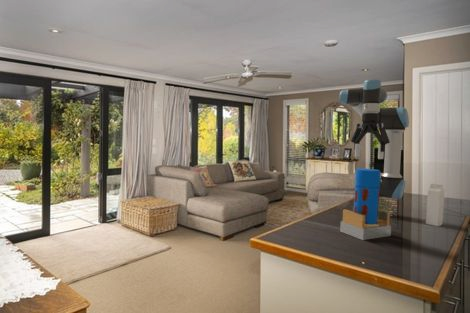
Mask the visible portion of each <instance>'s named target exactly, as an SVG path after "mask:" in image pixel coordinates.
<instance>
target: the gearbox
mask: <svg viewBox="0 0 470 313" xmlns="http://www.w3.org/2000/svg"><path fill="white" fill-rule="evenodd" d="M390 213H391V212H390V211H387V210H381V209H379V211H378V222H377V224H372V225H371V224H365V215H363V214H360V213H357V212H354V211H353V210H349V209H346V208H345V209H343V210H342V220H340V226H339V227H340V229H339V230H340V231H339V232H341V233H344V234H347V235H349V236H352V237H354V238H356V239H358V240H359V239H360V240H362V241H366V240H372V239H378V238H379V239H380V238H385V237H391V236H392V235H391V234H392V225H391V224H390V218H391V217H390V216H391V214H390Z"/></svg>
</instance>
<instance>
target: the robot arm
mask: <svg viewBox="0 0 470 313" xmlns="http://www.w3.org/2000/svg"><path fill="white" fill-rule="evenodd" d="M338 98H339V103H340V104H341V105H348V106H350V107H351V108H352V109H353V110H354V111H355V113H356V114H358V115H359V118H360V120H361V122H362V123H357V124H356V129H355V131H354V133H353V135H352V138H351V141H350V142H351V143H353V144H354V145H353V146H354V147H353V149H354V157H355V158H360V157H361V143H360V142H362V140H363V138H364V137H365V136H366V134H369V133H370V134H373V135H374V137H375V139H376V140H377V141H378V143H379V144H378V149H377V150H378V151H377V159H378V160H384V162H383V163H384V164H383V173H382V174H380V192H379V198H386V199H392V200H400V199H401V198H402V197H403V195H404V192H405V187H406V180H404V179H403V176H402V174H401V158H402V156H401V155H402V138H403V133H404V132H406V129H407V128H409V125H410V124H409V123H410V118H409V112H408V110H407V108H406V107H398V106H396V107H381V104H382V103H384V102H386V100H387V99H388V93H387V90H386V89H384V88H383V87H382V81H381V80H380V79H374V78H373V79H366V80H365V81H363V87H362V88H349V89H348V88H347V89H342V90H340V92H339V96H338ZM352 211H353V212H354V205H353V206H352Z"/></svg>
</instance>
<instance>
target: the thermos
mask: <svg viewBox="0 0 470 313" xmlns="http://www.w3.org/2000/svg"><path fill="white" fill-rule="evenodd" d="M380 178H381V170H380V169H374V168H372V169H371V168H356V169H355V181H354V182H355V183H354V196H353V197H354V201H353V206H354V211H353V212H357V213H360V214H363V215H365V224H371V225H372V224H377V222H378V211H379V210H380V209H379V208H380V205H379V204H380V197H379V192H380Z"/></svg>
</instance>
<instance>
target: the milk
mask: <svg viewBox="0 0 470 313" xmlns="http://www.w3.org/2000/svg"><path fill="white" fill-rule="evenodd" d="M444 201H445V189H444V186H443V184H434V183H430V186H429V188H428V189H427V200H426V215H425V224H426V225H430V226H434V227H440V226H442V225H443V217H444V203H445V202H444Z"/></svg>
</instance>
